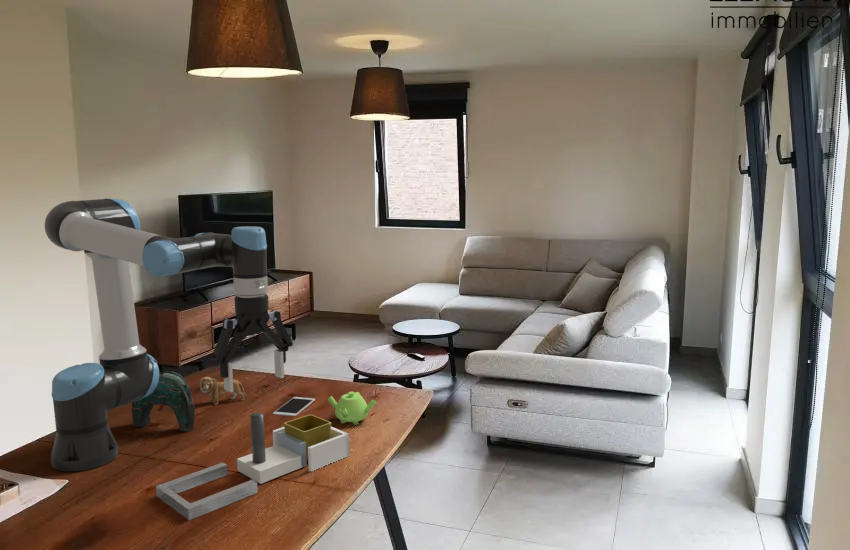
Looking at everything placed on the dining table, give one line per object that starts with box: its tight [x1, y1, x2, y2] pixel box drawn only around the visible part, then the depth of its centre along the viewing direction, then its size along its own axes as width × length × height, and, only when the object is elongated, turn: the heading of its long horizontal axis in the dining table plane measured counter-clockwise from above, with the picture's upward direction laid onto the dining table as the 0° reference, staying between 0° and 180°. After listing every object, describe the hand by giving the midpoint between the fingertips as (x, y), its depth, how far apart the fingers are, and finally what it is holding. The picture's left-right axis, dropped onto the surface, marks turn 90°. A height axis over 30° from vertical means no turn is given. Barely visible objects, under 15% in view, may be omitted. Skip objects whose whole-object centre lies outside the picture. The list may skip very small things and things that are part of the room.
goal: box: [272, 426, 351, 472], centre depth 172 cm, size 12×16×6 cm
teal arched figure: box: [131, 358, 196, 432], centre depth 190 cm, size 20×6×20 cm, turn 75°
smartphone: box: [272, 396, 316, 417], centre depth 207 cm, size 8×1×15 cm
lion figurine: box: [199, 376, 249, 406], centre depth 211 cm, size 15×5×9 cm, turn 123°
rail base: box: [155, 462, 259, 521], centre depth 152 cm, size 16×15×2 cm
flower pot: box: [283, 414, 332, 462], centre depth 171 cm, size 9×9×9 cm
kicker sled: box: [236, 411, 308, 485], centre depth 163 cm, size 13×10×15 cm
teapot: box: [327, 391, 377, 426], centre depth 194 cm, size 11×12×8 cm
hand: (254, 383), depth 158 cm, fingers open, 13 cm apart
